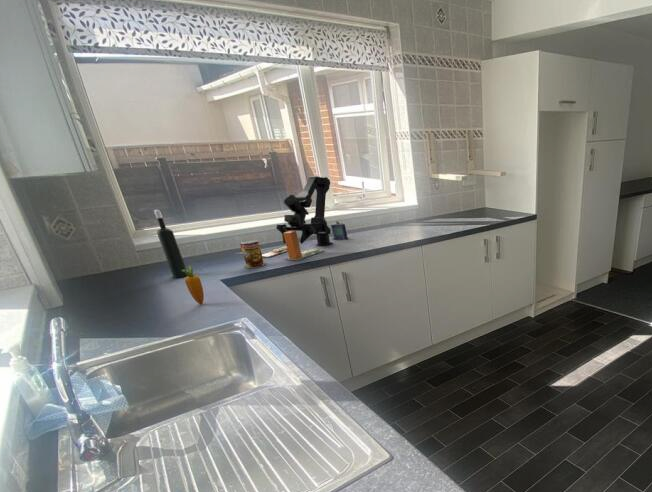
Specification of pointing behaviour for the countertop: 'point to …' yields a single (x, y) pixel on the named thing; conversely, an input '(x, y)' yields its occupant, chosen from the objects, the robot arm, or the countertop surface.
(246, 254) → the canned food
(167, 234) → the wine bottle
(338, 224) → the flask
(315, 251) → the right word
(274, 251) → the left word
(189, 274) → the carrot
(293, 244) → the orange rectangular block
